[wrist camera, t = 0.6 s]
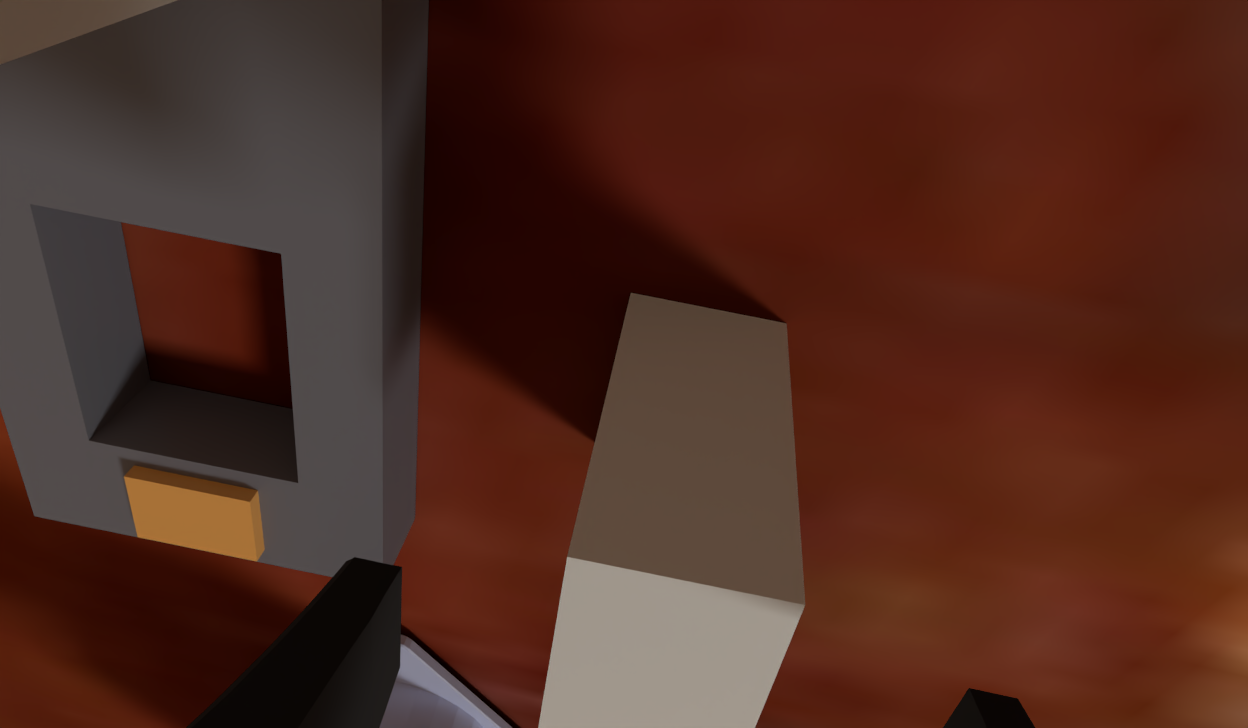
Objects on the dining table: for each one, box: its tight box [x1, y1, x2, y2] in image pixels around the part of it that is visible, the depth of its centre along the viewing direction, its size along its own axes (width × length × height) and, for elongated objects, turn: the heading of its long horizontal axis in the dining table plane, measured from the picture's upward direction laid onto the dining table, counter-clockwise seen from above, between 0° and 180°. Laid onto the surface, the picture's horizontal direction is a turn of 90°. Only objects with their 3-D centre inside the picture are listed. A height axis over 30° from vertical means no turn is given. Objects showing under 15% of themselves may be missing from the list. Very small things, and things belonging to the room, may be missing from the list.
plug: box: [538, 293, 805, 728], centre depth 17 cm, size 4×4×8 cm
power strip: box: [0, 0, 429, 577], centre depth 13 cm, size 22×9×11 cm, turn 171°
